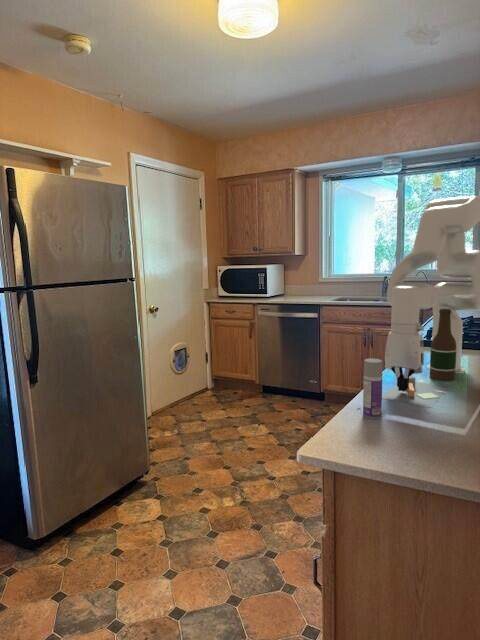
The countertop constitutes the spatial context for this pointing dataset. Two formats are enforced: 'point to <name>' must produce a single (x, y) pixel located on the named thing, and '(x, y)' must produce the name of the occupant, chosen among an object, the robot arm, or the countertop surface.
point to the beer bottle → (443, 350)
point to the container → (372, 388)
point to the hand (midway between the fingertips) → (402, 389)
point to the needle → (411, 386)
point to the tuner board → (417, 394)
